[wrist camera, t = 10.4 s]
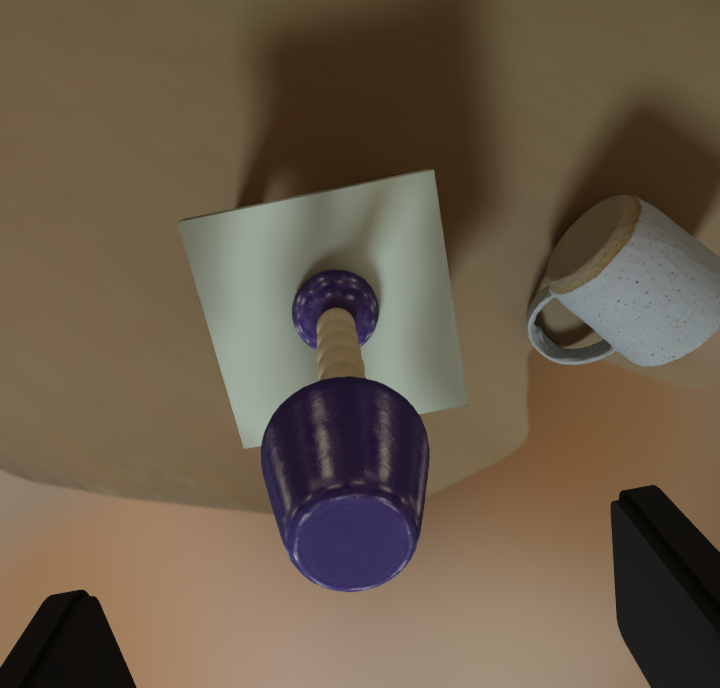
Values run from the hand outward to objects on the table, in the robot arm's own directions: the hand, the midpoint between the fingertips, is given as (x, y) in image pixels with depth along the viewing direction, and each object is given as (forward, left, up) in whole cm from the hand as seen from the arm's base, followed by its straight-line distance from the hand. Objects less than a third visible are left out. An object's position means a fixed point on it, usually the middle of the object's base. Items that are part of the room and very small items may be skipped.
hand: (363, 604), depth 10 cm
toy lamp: (0, 0, -19) cm, 19 cm away
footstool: (0, 0, -28) cm, 28 cm away
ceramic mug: (-16, +4, -28) cm, 33 cm away
